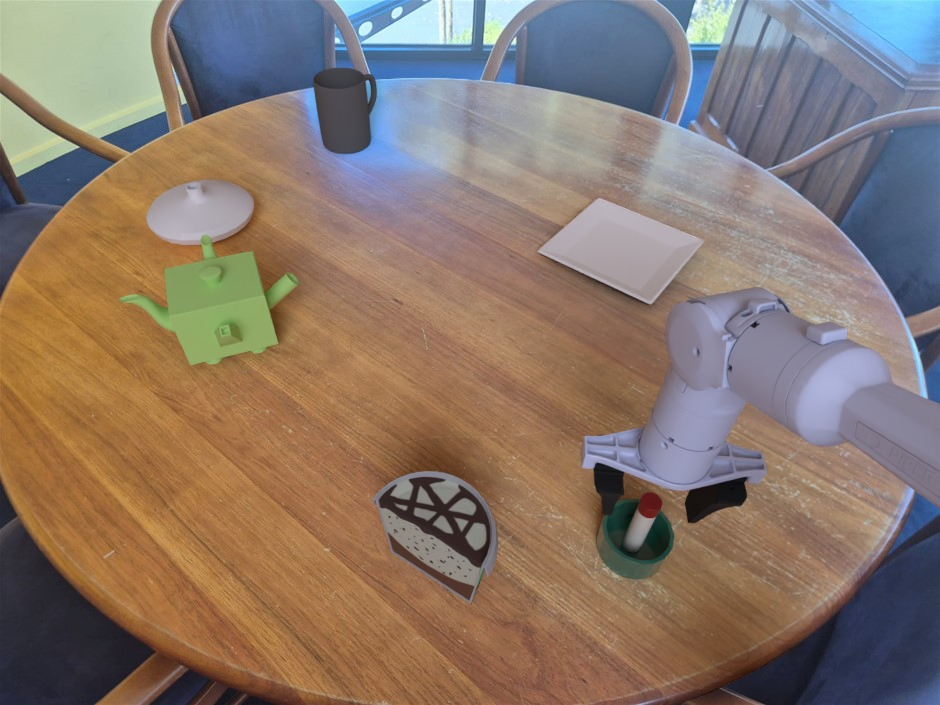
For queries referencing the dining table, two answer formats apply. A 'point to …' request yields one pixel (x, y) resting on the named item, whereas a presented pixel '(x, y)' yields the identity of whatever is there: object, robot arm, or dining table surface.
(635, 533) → the marker
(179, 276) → the kettle
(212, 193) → the grey lid
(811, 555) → the dining table surface
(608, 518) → the thermos cup
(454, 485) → the cake slice
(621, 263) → the plate
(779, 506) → the dining table surface
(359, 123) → the mug
